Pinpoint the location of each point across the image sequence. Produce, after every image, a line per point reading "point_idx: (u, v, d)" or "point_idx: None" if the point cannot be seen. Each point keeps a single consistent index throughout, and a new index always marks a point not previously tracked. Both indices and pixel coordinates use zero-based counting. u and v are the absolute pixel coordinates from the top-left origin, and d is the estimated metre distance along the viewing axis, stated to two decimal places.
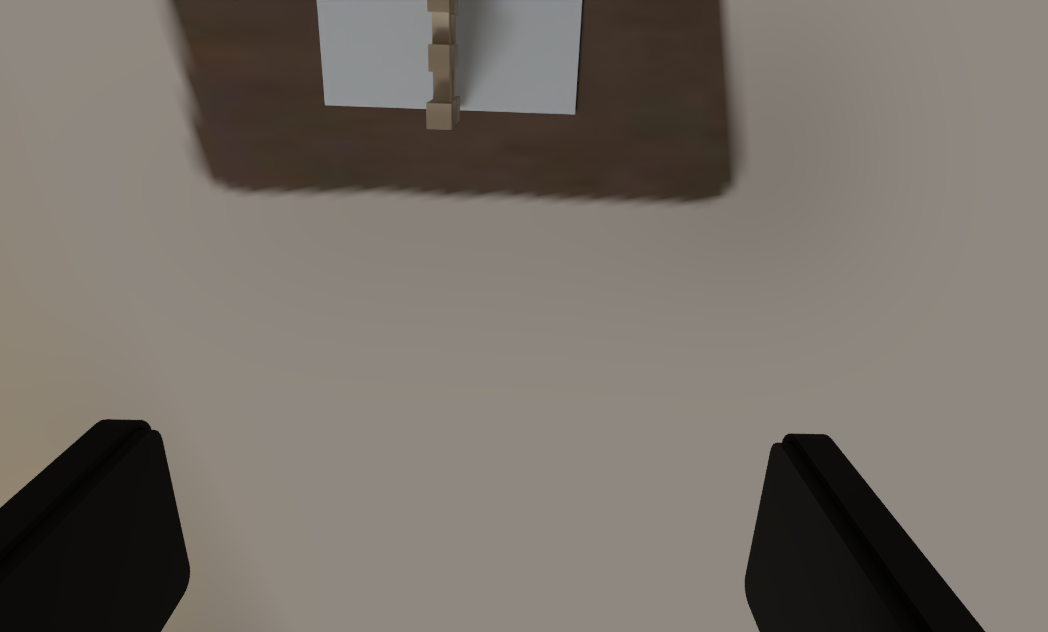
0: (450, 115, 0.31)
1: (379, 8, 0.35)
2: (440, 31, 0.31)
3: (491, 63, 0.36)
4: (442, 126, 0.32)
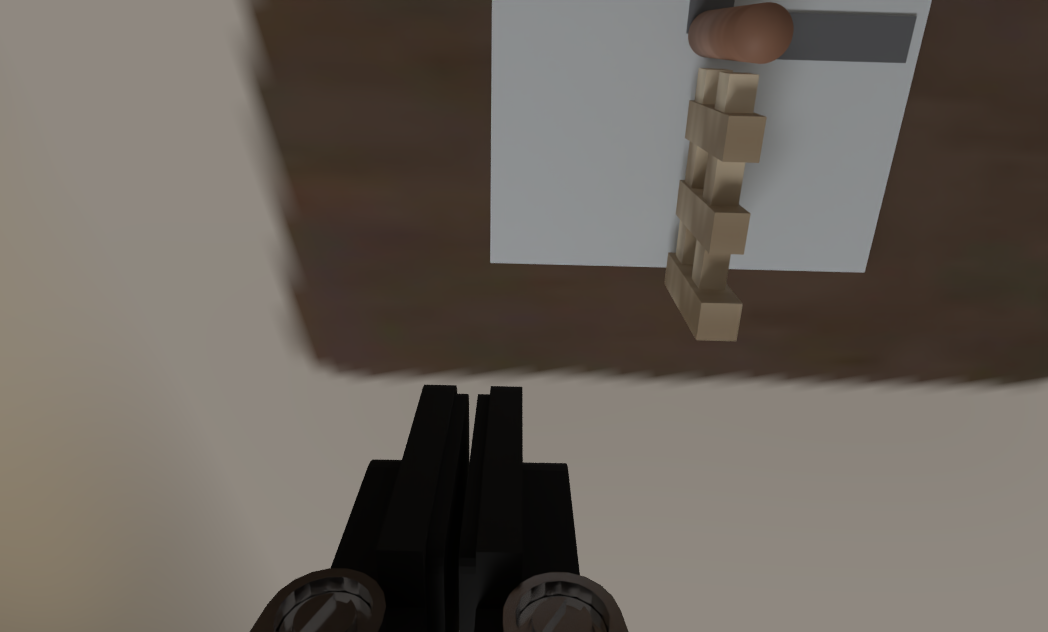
0: (738, 320, 0.19)
1: (587, 125, 0.22)
2: (727, 186, 0.19)
3: (749, 202, 0.23)
4: (722, 336, 0.19)
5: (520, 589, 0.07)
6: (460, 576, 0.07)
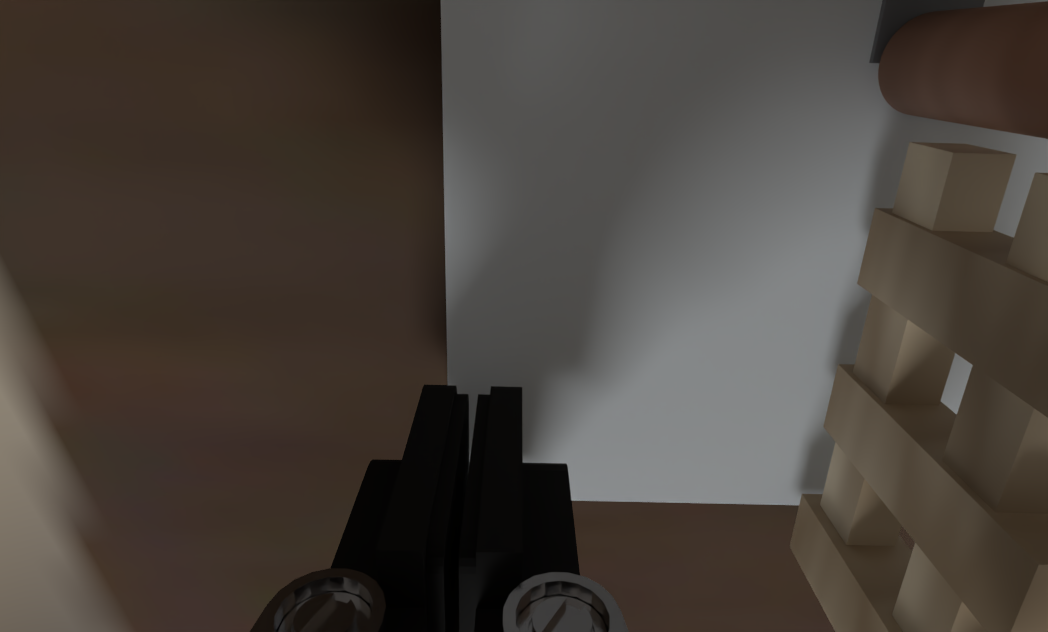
0: None
1: (644, 251, 0.11)
2: None
3: (962, 394, 0.12)
4: None
5: (520, 589, 0.07)
6: (460, 576, 0.07)
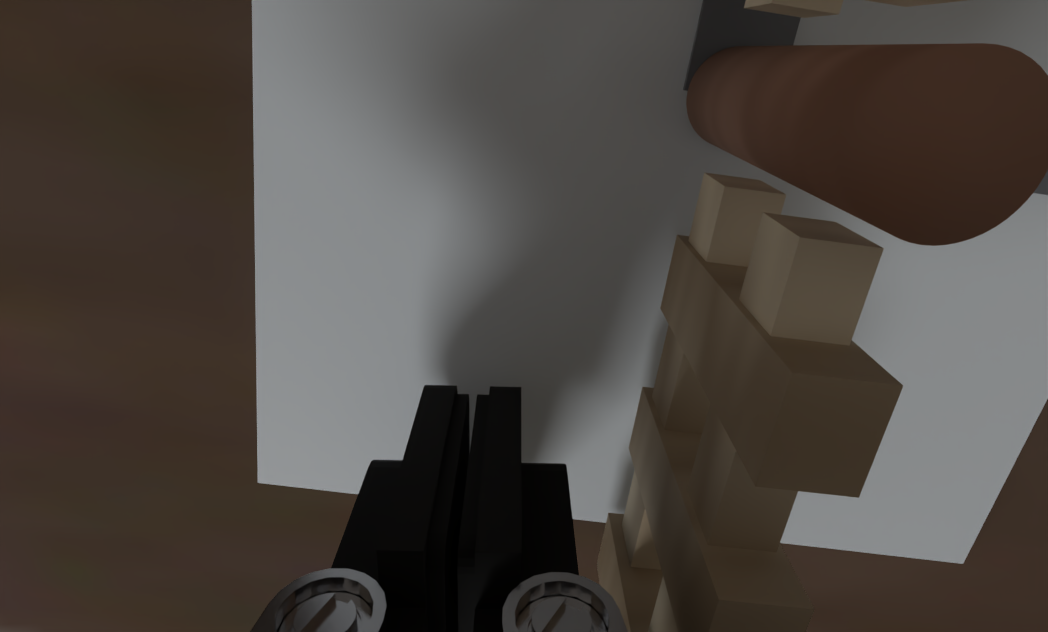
0: None
1: (458, 253, 0.11)
2: (756, 508, 0.07)
3: None
4: None
5: (519, 589, 0.07)
6: (461, 576, 0.07)
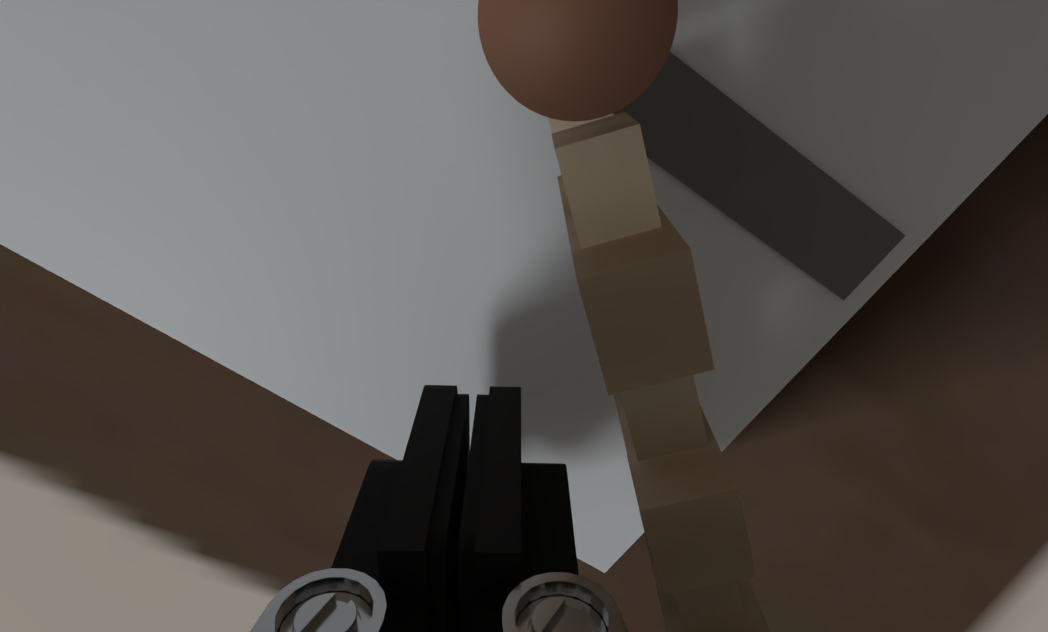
0: None
1: (236, 54, 0.10)
2: (663, 411, 0.07)
3: (480, 374, 0.12)
4: None
5: (519, 589, 0.07)
6: (461, 576, 0.07)
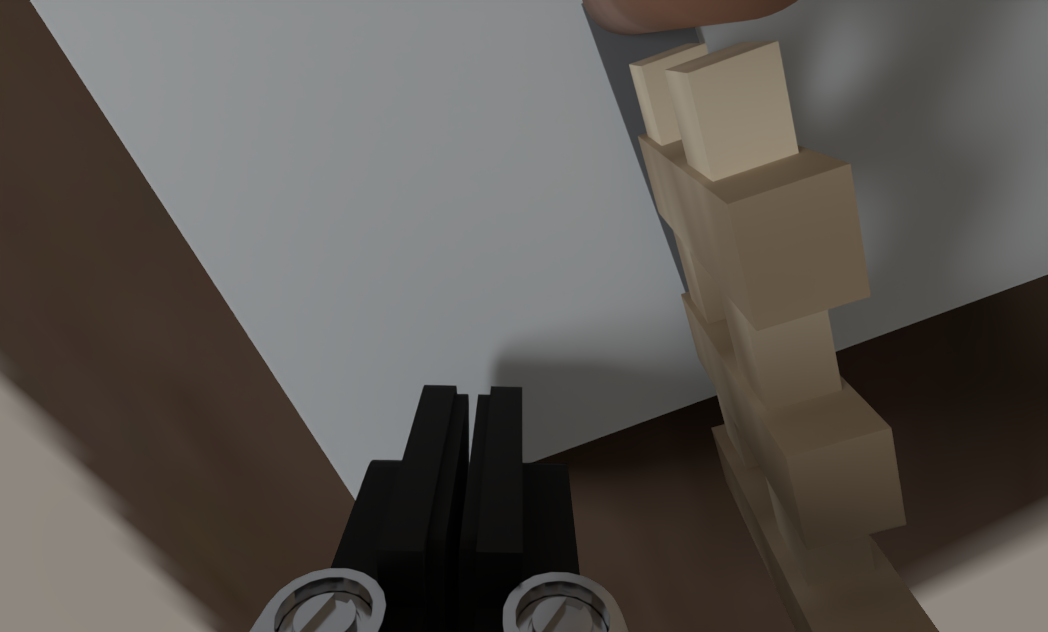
0: None
1: None
2: (795, 355, 0.07)
3: (365, 265, 0.11)
4: None
5: (520, 589, 0.07)
6: (460, 576, 0.07)
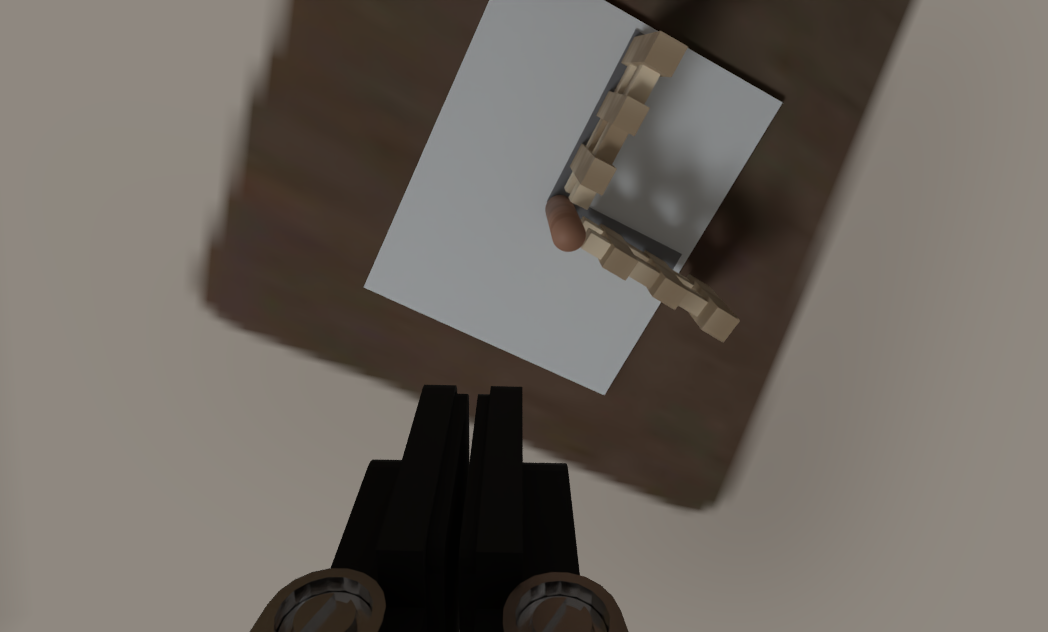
0: (727, 313, 0.28)
1: (464, 228, 0.32)
2: (644, 275, 0.29)
3: (548, 321, 0.34)
4: (731, 326, 0.28)
5: (520, 589, 0.07)
6: (460, 576, 0.07)
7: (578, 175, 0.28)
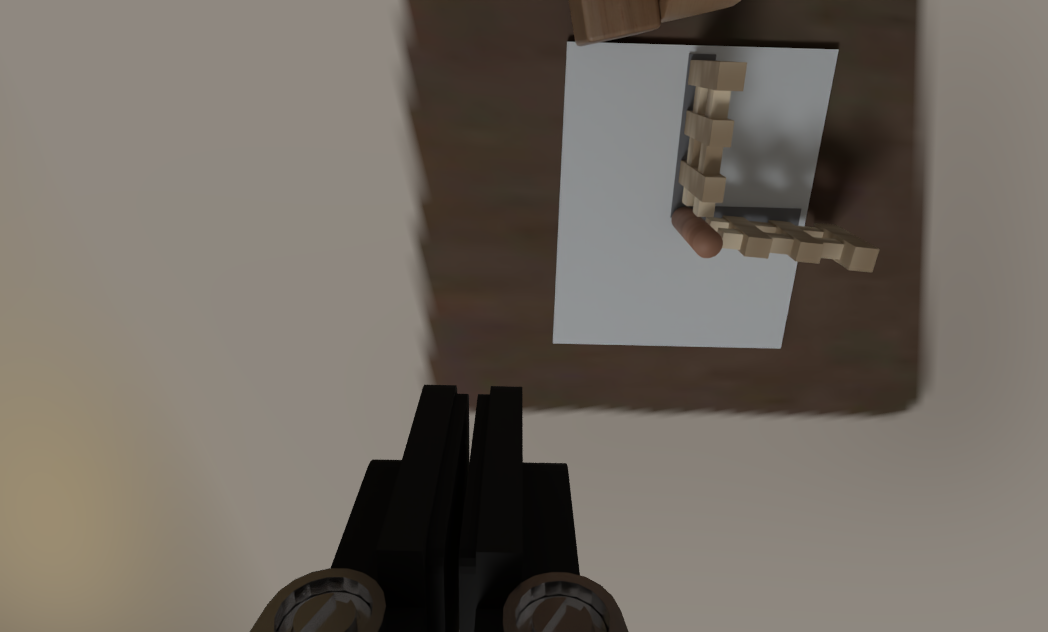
0: (865, 248, 0.32)
1: (612, 266, 0.38)
2: (780, 246, 0.33)
3: (709, 308, 0.39)
4: (874, 257, 0.32)
5: (520, 589, 0.07)
6: (460, 575, 0.07)
7: (694, 192, 0.33)
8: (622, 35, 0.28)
